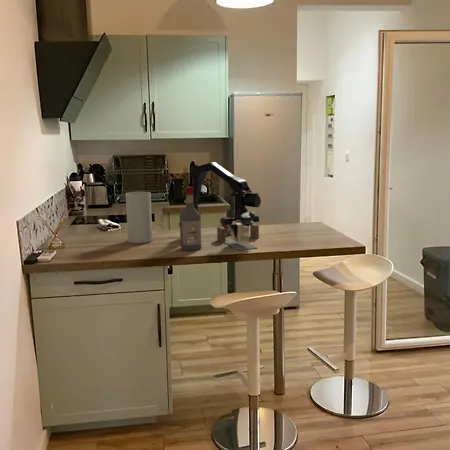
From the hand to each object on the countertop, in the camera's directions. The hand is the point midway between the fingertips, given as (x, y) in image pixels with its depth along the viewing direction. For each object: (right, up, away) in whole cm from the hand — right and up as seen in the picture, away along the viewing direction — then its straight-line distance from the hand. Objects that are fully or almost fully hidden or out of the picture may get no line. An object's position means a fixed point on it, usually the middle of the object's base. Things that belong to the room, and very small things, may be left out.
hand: (240, 237), depth 259 cm
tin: (-3, +1, +30) cm, 30 cm away
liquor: (-24, -6, -4) cm, 25 cm away
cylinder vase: (-51, -3, +13) cm, 53 cm away
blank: (0, -2, 0) cm, 2 cm away
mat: (0, -4, +1) cm, 4 cm away
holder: (-1, -2, +14) cm, 15 cm away
